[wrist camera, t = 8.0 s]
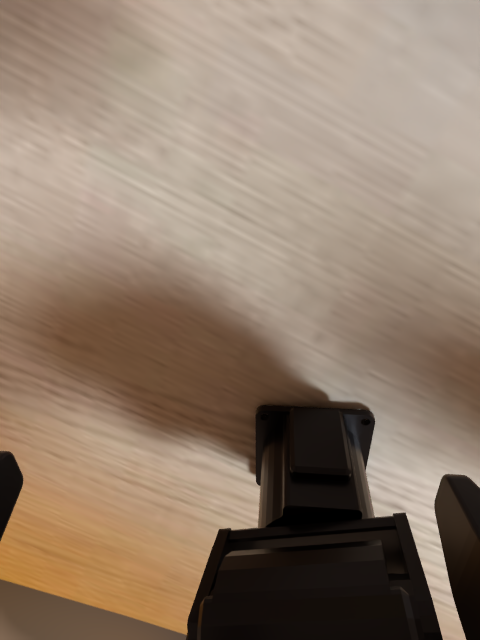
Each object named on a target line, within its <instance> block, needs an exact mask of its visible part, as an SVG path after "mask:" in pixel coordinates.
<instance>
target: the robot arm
mask: <svg viewBox="0 0 480 640" xmlns="http://www.w3.org/2000/svg"><path fill="white" fill-rule="evenodd" d="M262 414H267V415H262ZM363 419H367V420H363ZM374 425H375V419H374V415H373V413H372V412H370V411H367V410H352V409H331V408H310V407H289V406H268V405H264V406H260V407H258V408H257V410H256V482H257V484H258V485H260V503H259V519H258V528H250V529H239V530H231V528H227V529H219V531H218V534H217V537H216V540H215V543H214V545H213V547H212V550H211V553H210V556H209V559H208V562H207V565H206V568H205V571H204V574H203V576H202V579H201V582H200V585H199V588H198V591H197V594H196V597H195V600H194V603H193V606H192V609H191V612H190V614H189V617H188V623H187V629H188V633H187V637H186V640H443V639H442V635H441V631H440V627H439V623H438V619H437V615H436V612H435V608H434V605H433V601H432V598H431V594H430V591H429V587H428V584H427V581H426V578H425V574H424V571H423V568H422V565H421V561H420V558H419V555H418V552H417V549H416V545H415V542H414V539H413V536H412V532H411V529H410V526H409V523H408V519H407V516H406V513H395V514H393V516H386V517H375V516H374V511H373V506H372V501H371V496H370V491H369V486H368V481H367V476H366V466H367V461H368V456H369V451H370V445H371V440H372V435H373V430H374ZM22 485H23V475H22V473H21V471H20V468H19V466H18V464H17V462H16V460H15V457H14V455H13V454H12V453H11V452H8V451H0V541H1V538H2V536H3V533H4V531H5V528H6V526H7V524H8V521H9V519H10V516H11V514H12V511H13V509H14V506H15V504H16V501H17V499H18V496H19V494H20V491H21V489H22ZM435 514H436V519H437V524H438V529H439V533H440V538H441V543H442V548H443V553H444V557H445V562H446V567H447V572H448V576H449V581H450V586H451V590H452V594H453V598H454V601H455V605H456V608H457V611H458V615H459V618H460V621H461V624H462V627H463V630H464V633H465V637H466V640H480V488H479V487H478V486H477V485H476V484H475V483H474V482H473V481H472V480H471V479H470V478H469V477H467V476H465V475H454V474H446V475H444V476H443V477H442V479H441V482H440V486H439V489H438V492H437V495H436V499H435Z"/></svg>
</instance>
